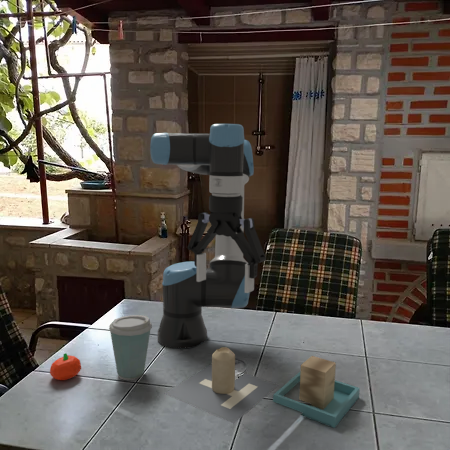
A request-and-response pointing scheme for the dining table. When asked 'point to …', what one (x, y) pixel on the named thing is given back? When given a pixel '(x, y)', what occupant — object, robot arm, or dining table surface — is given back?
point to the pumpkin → (65, 367)
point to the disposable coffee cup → (130, 345)
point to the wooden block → (317, 382)
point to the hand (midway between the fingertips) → (224, 285)
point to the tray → (332, 412)
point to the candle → (223, 371)
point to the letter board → (222, 403)
